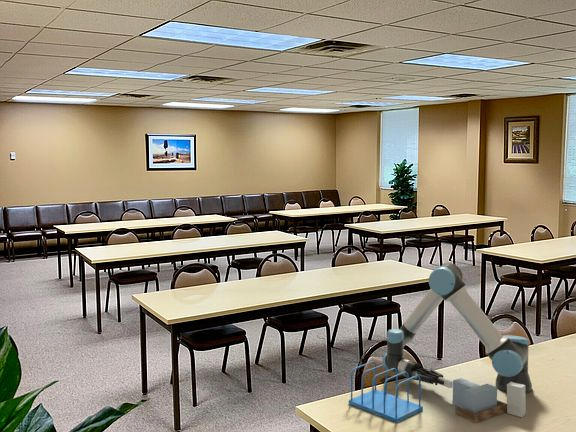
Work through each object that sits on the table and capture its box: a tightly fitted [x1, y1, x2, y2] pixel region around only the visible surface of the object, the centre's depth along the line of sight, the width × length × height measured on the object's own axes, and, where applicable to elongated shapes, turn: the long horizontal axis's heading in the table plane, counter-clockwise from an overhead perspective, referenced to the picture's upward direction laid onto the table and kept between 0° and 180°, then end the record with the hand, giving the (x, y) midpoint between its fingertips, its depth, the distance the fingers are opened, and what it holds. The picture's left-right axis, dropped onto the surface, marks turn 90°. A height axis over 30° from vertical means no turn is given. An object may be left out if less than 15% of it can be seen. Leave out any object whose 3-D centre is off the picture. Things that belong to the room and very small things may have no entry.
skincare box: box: [506, 382, 527, 418], centre depth 230 cm, size 6×4×12 cm
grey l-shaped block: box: [452, 377, 498, 414], centre depth 236 cm, size 13×15×10 cm
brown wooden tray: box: [455, 399, 507, 424], centre depth 232 cm, size 19×10×3 cm, turn 124°
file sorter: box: [348, 361, 424, 423], centre depth 238 cm, size 25×17×15 cm
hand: (451, 384), depth 245 cm, fingers closed
